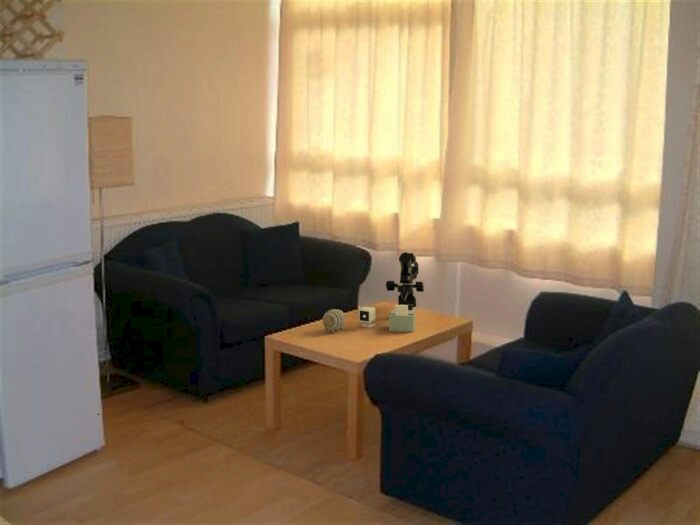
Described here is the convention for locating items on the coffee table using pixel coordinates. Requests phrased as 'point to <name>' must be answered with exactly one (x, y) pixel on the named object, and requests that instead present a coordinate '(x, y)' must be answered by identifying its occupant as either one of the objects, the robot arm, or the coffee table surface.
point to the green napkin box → (410, 312)
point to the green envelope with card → (401, 320)
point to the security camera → (367, 316)
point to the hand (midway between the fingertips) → (403, 300)
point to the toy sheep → (334, 320)
